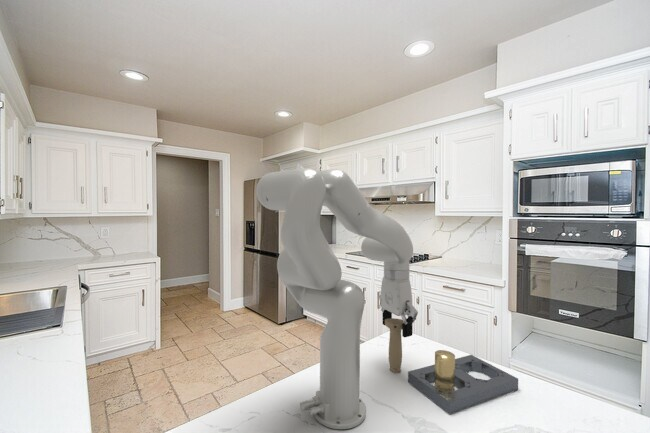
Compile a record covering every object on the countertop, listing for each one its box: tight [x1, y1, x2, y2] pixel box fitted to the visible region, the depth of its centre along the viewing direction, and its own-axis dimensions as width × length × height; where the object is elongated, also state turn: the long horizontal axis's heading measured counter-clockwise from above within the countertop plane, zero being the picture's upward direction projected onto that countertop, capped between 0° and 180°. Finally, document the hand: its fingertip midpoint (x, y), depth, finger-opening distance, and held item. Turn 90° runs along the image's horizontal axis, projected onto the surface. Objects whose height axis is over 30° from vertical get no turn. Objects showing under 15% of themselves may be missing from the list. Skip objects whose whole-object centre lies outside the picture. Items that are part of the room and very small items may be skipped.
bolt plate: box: [407, 354, 519, 415], centre depth 84 cm, size 25×15×3 cm, turn 114°
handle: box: [384, 317, 404, 374], centre depth 92 cm, size 5×6×15 cm
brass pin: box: [434, 349, 456, 392], centre depth 81 cm, size 5×5×10 cm
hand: (396, 329), depth 92 cm, fingers open, 9 cm apart
